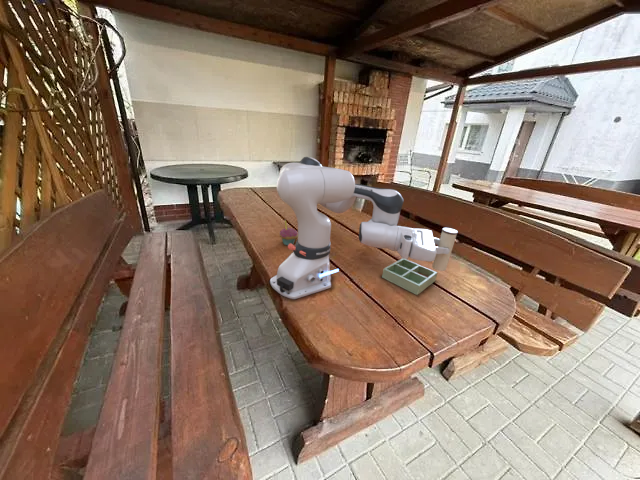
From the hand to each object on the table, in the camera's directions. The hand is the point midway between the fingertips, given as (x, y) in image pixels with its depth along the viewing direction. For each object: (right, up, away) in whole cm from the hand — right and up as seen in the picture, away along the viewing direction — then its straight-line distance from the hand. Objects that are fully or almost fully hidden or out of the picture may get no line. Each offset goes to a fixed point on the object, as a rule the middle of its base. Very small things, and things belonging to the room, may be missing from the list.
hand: (447, 247), depth 87 cm
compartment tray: (-9, -12, +13) cm, 20 cm away
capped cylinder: (-1, -7, +3) cm, 8 cm away
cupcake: (-57, +1, +35) cm, 67 cm away
